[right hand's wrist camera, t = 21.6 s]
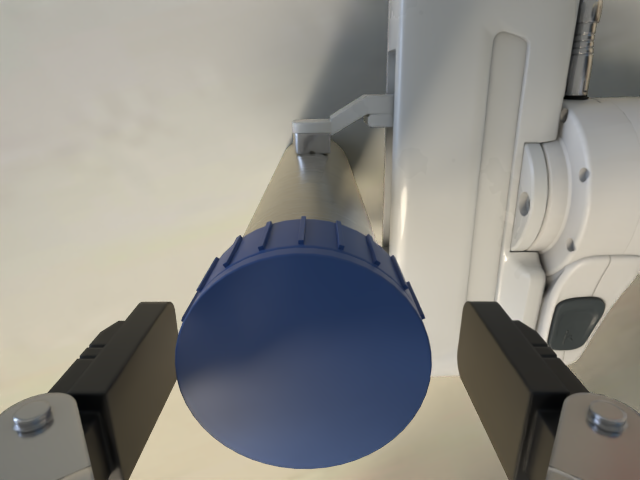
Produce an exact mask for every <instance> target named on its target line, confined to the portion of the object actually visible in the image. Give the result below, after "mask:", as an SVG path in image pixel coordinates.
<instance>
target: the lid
mask: <svg viewBox="0 0 640 480" xmlns="http://www.w3.org/2000/svg"><path fill="white" fill-rule="evenodd" d="M196 291H197V293H196V295H195V296H194V298H193V300H192V301H191V303H190V305H189V307H188V308H187V310H186V312H185V314H184V315H183V317H182V320H181V321H182V322H183V323H182V326H181V328H180V331H179V334H178V338H177V343H176V348H175V368H176V376H177V381H178V384H179V388H180V391H181V394H182V396H183V398H184V400H185V403H186V405H187V406H188V408H189V410H190V411H191V413H192V414H193V416H194V417H195V418H196V420H197V421H198V422H199V423H200V425H201V426H202V427H203V428H204V429H205V430H206V431H207V432H208V433H209V434H210V435H211V436H213V437H214V438H215V439H216V440H218V441H219V442H220V443H222V444H223V445H225V446H226V447H228V448H230V449H231V450H233V451H235V452H236V453H238V454H241V455H243V456H245V457H247V458H250V459H252V460H255V461H258V462H261V463H265V464H269V465H273V466H278V467H285V468H294V469H315V468H326V467H331V466H337V465H341V464H345V463H348V462H351V461H355V460H357V459H360V458H362V457H364V456H367V455H369V454H371V453H373V452H374V451H376V450H378V449H380V448H382V447H383V446H384V445H386V444H387V443H389V442H390V441H391V440H393V439H394V438H395V437H396V436H397V435H398V434H399V433H400V432H402V431H403V430H404V429H405V427H406V426H407V425H408V424H409V423H410V422H411V420H412V419H413V418H414V416H415V415H416V413H417V411H418V410H419V408H420V407H421V404H422V402H423V400H424V398H425V396H426V393H427V389H428V386H429V382H430V377H431V369H432V354H431V347H430V342H429V337H428V334H427V332H426V329H425V326H424V323H423V321H422V320H423V319H425V316H424V313H423V311H422V309H421V306H420V304H419V302H418V300H417V297H416V295H415V293H414V291H413V289H412V286H411V284H410V282H409V281H408V282H406V281H405V278H404V276H403V274H402V271H401V269H400V267H399V264H398V262H397V260H396V258H395V256H394V255H392V256H391V257H390V256H389V254H388V253H387V252H386V251H385V250H384V249H383V248H382V247H381V246H379V245H378V244H377V243H375V242H374V241H373V238H372V236H371V235H370V234H367V236H365V235H364V234H362V233H360V232H358V231H356V230H354V229H352V228H349V227H347V226H344V225H341V221H338V220H336V223H334V222H330V221H323V220H316V219H306V216H301V219H295V220H286V221H281V222H277V223H273V224H272V222H271V221H269V222H267V223H266V226H264V227H262V228H259V229H256V230H255V231H253V232H251V233H249V234H247V235H245V236H244V237H241V235H240V236H238V237H237V238H236V240H235V242H234V244H233V245H232V246H231V247H230V248H229V249H228V250H227V251H226V252H225V253H224V254H223V255H222V256H221V257H220V259H219V258H217V257H216V258H215V259H214V261H213V263H212V264H211V266H210V268H209V269H208V271H207V273H206V274H205V276H204V278H203V280H202V281H201V283H200V285H199V286H198V288H197V290H196Z"/></svg>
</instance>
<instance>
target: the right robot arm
mask: <svg viewBox="0 0 640 480" xmlns="http://www.w3.org/2000/svg"><path fill="white" fill-rule="evenodd" d="M177 338H178V330H177V322H176V314H175V308H174V305H173V304H172V303H171V302H141V303H139V304H138V305H137V307H136V308H135V309H134V310H133V312H132V313H131V314H130V315H129V317H128V318H127V319H126V320H125V321H118V322H116V323H114V324H113V325H111V326H110V327H108V328H106V329H105V330H103V331H102V332H100V333H99V335H98V336H97V337H96V338H95V339H94V340H93V341H92V343H91V344H90V345H89V348H86V349H85V351H84V352H83V353H82V354H81V355H80V359H77V360H76V361H75V362H74V363H73V364H72V365H71V367H70V368H69V369H68V370H67V371H66V372H65V373H64V375H63V376H62V377H61V378H60V379H59V380H58V382H57V383H56V384H55V385H54V386H53V387H52V388H51V390H50V391H49V392H48V393H45V394H40V395H36V396H33V397H30V398H27V399H25V400H22V401H20V402H18V403H16V404H14V405H13V406H11V407H9V408H8V409H6V410H5V411H4V412H2V413H1V414H0V480H129V478H130V476H131V473H132V471H133V469H134V467H135V465H136V463H137V461H138V459H139V457H140V455H141V453H142V451H143V449H144V446H145V444H146V442H147V440H148V438H149V436H150V434H151V432H152V430H153V428H154V426H155V424H156V421H157V419H158V417H159V415H160V413H161V411H162V409H163V407H164V405H165V403H166V401H167V399H168V396H169V394H170V392H171V390H172V388H173V386H174V384H175V382H176V380H177V376H176V368H175V348H176V343H177ZM457 365H458V371H459V375H460V377H461V380H462V382H463V384H464V386H465V388H466V390H467V392H468V394H469V397H470V399H471V401H472V403H473V405H474V407H475V409H476V411H477V413H478V415H479V418H480V420H481V422H482V424H483V426H484V428H485V430H486V432H487V434H488V437H489V439H490V441H491V443H492V445H493V447H494V449H495V451H496V453H497V456H498V458H499V460H500V462H501V464H502V466H503V468H504V470H505V472H506V475H507V477H508V479H509V480H640V414H639V413H638V412H636V411H635V410H634V409H632V408H631V407H629V406H627V405H626V404H624V403H622V402H620V401H618V400H615V399H613V398H610V397H607V396H604V395H600V394H595V393H589V391H588V390H587V389H586V388H585V387H584V386H583V384H582V383H581V382H580V381H579V380H578V379H577V378H576V376H575V375H574V374H573V373H572V372H571V371H570V369H569V368H568V367H567V366H566V365H565V364H564V362H563V361H562V360H561V359H560V358H557V354H556V353H555V352H554V351H553V350H552V349H551V347H548V344H547V343H546V342H545V341H544V339H543V338H542V337H541V336H540V335H539V334H538V332H537V331H535V330H534V329H532V328H530V327H529V326H527V325H526V324H524V323H522V322H521V321H519V320H512V319H511V318H510V317H509V316H508V314H507V313H506V312H505V311H504V309H503V308H502V307H501V306H500V304H499V303H498V302H496V301H467V302H465V304H464V306H463V311H462V319H461V327H460V334H459V342H458V350H457Z"/></svg>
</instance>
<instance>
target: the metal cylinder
mask: <svg viewBox="0 0 640 480" xmlns="http://www.w3.org/2000/svg"><path fill="white" fill-rule="evenodd" d="M301 216H306V219H316V220H323V221H330V222H334V223H336V220H338V221H341V225H344V226H347V227H349V228H352V229H354V230H356V231H358V232H360V233H362V234H364V235H365V236H367V234H370V235H371V236H372V238H373V241H374V242H375V243H377V240H376V237H375V235H374V232H373V229H372V226H371V223H370V221H369V218H368V215H367V212H366V209H365V207H364V204H363V201H362V198H361V195H360V193H359V190H358V187H357V184H356V181H355V179H354V176H353V173H352V170H351V167H350V165H349V162H348V159H347V156H346V154H345V152H344V151H343V150H342V148H341V147H340V146H339V145H338V144H337V143H335V142H334V141H332V140H331V139H330V153H321V154H320V153H315V152H313V151H310V152H309V153H306V154H295V153H294V147H293V143H292V144H291V145H290V146H289V147H288V148H287V149H286V151H285V152H284V154H283V156H282V158H281V160H280V162H279V164H278V166H277V168H276V170H275V172H274V174H273V176H272V178H271V180H270V182H269V184H268V186H267V189H266V191H265V193H264V195H263V197H262V199H261V201H260V203H259V205H258V207H257V209H256V211H255V213H254V215H253V217H252V219H251V221H250V223H249V225H248V227H247V230H246V232H245V234H244V236H245V235H247V234H249V233H251V232H253V231H255V230H256V229H259V228H262V227H264V226H266V223H267V222H269V221H271V222H272V224H273V223H277V222H281V221H286V220H295V219H301ZM244 236H243V237H244ZM377 244H378V243H377Z"/></svg>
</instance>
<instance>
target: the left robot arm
mask: <svg viewBox="0 0 640 480" xmlns="http://www.w3.org/2000/svg"><path fill="white" fill-rule="evenodd" d="M602 8H603V0H389V8H388V44H387V81H386V94H371V95H362V96H360V97H359V98H357V99H356V100H354V101H353V102H351V103H349V104H348V105H346V106H345V107H343V108H341V109H340V110H338V111H337V112H335V113H334V114H332V115H330V119H300V120H293V122H292V130H293V147H294V153H295V154H306V153H309V152H310V151H313V152H315V153H320V154H321V153H330V133H331V136H332V135H334V134H336V133H337V132H339V131H341V130H342V129H344V128H345V127H347V126H349V125H350V124H352V123H354V122H355V121H357V120H359V119H360V118H362V117H364V122H365V123H366V124H367V125H368V126H369V127H385V155H384V192H383V229H382V248H383V249H384V250H385V251H386V252H387V253H388V254H389V256H390V257H391V256H392V255H394V256H395V258H396V260H397V262H398V264H399V267H400V269H401V271H402V274H403V276H404V278H405V281H406V282H408V281H409V282H410V284H411V286H412V289H413V291H414V293H415V295H416V297H417V300H418V302H419V304H420V306H421V309H422V311H423V313H424V316H425V319H423V320H422V321H423V323H424V326H425V329H426V332H427V334H428V337H429V342H430V347H431V354H432V369H431V377H450V376H460V375H459V371H458V365H457V350H458V342H459V334H460V327H461V319H462V311H463V306H464V304H465V302H467V301H496V302H498V303H499V304H500V306H501V307H502V308H503V309H504V311H505V312H506V313H507V314H508V316H509V317H510V318H511V319H512V320H519V321H521V322H522V323H524V324H526V325H527V326H529V327H530V328H532V329H534V330H535V331H537V332H538V334H539V335H540V336H541V337H542V338H543V339H544V341H545V342H546V343H547V344H548V347H551V349H552V350H553V351H554V352H555V353H556V354H557V358H560V359H561V360H562V361H563V362H564V364H565V365H566V366H567V365H570V364H573V363H574V362H576V361H577V360H578V359H579V358H580V357H581V355H582V354H583V352H584V351H585V349H586V347H587V346H588V344H589V342H590V341H591V339H592V337H593V336H594V334H595V332H596V331H597V329H598V327H599V326H600V324H601V323H602V321H603V320H604V318H605V317H606V315H607V314H608V312H609V311H610V309H611V308H612V307H613V305H614V304H615V303H616V301H617V300H618V299H619V297H620V296H621V295H622V294H623V292H624V291H625V290H626V289H627V288H628V287H629V285H630V284H631V283H632V282H633V281H634V279H635V278H636V277H637V275H640V97H607V98H589V97H587V92H588V87H589V81H590V75H591V70H592V64H593V55H592V54H593V53H594V49H593V47H594V42H593V41H594V38H595V35H594V34H595V32H596V27H597V23H599V21H600V18H601V14H602Z"/></svg>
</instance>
